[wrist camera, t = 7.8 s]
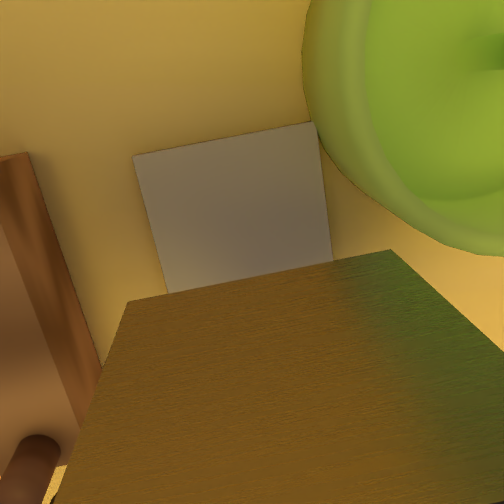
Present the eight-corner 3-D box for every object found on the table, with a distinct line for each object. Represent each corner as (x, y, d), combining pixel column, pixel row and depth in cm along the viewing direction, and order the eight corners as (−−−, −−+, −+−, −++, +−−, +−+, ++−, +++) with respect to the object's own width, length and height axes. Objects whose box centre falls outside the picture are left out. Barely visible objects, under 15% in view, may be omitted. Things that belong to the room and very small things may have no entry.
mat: (133, 155, 21) (131, 156, 20) (313, 120, 21) (315, 121, 21) (188, 363, 25) (188, 367, 24) (340, 331, 25) (342, 335, 25)
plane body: (-65, 169, 20) (-209, 216, 13) (27, 152, 20) (-68, 189, 13) (36, 410, 25) (-31, 540, 18) (111, 395, 25) (73, 518, 18)
